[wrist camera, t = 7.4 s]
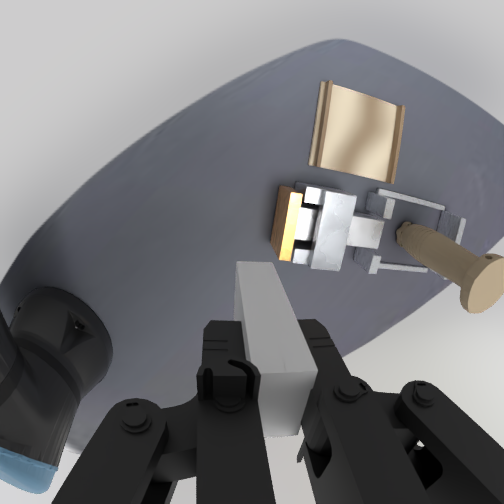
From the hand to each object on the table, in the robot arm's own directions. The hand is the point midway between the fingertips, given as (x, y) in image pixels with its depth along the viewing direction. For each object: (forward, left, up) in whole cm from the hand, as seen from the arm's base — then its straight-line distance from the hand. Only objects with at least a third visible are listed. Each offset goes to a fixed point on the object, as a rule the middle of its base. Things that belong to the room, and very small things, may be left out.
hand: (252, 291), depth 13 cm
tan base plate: (+12, +10, -18) cm, 23 cm away
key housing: (+8, 0, -18) cm, 19 cm away
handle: (+21, 0, -18) cm, 27 cm away
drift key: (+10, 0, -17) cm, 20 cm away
